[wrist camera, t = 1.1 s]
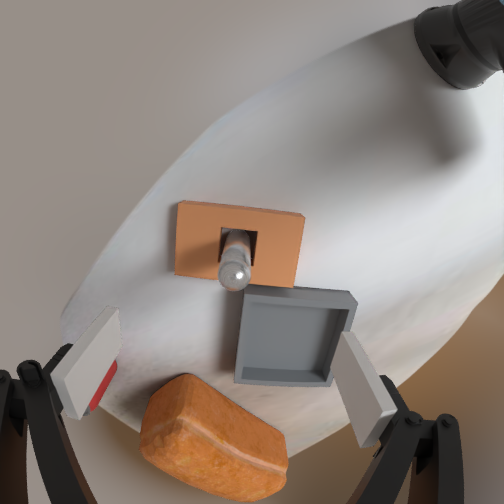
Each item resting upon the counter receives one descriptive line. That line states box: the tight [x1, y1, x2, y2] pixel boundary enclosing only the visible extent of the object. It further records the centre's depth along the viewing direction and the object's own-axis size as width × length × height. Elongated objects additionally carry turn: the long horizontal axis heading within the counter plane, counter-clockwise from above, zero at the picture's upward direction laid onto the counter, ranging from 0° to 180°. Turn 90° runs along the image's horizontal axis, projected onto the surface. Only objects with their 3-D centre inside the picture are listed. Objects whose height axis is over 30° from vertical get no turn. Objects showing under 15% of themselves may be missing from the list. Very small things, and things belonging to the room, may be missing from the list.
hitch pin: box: [218, 229, 251, 291], centre depth 31 cm, size 3×3×14 cm
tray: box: [234, 284, 358, 387], centre depth 39 cm, size 15×15×4 cm
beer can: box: [83, 360, 117, 416], centre depth 37 cm, size 7×7×12 cm
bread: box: [139, 374, 288, 502], centre depth 40 cm, size 14×26×16 cm, turn 43°
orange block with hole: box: [175, 200, 305, 288], centre depth 36 cm, size 15×9×3 cm, turn 83°
